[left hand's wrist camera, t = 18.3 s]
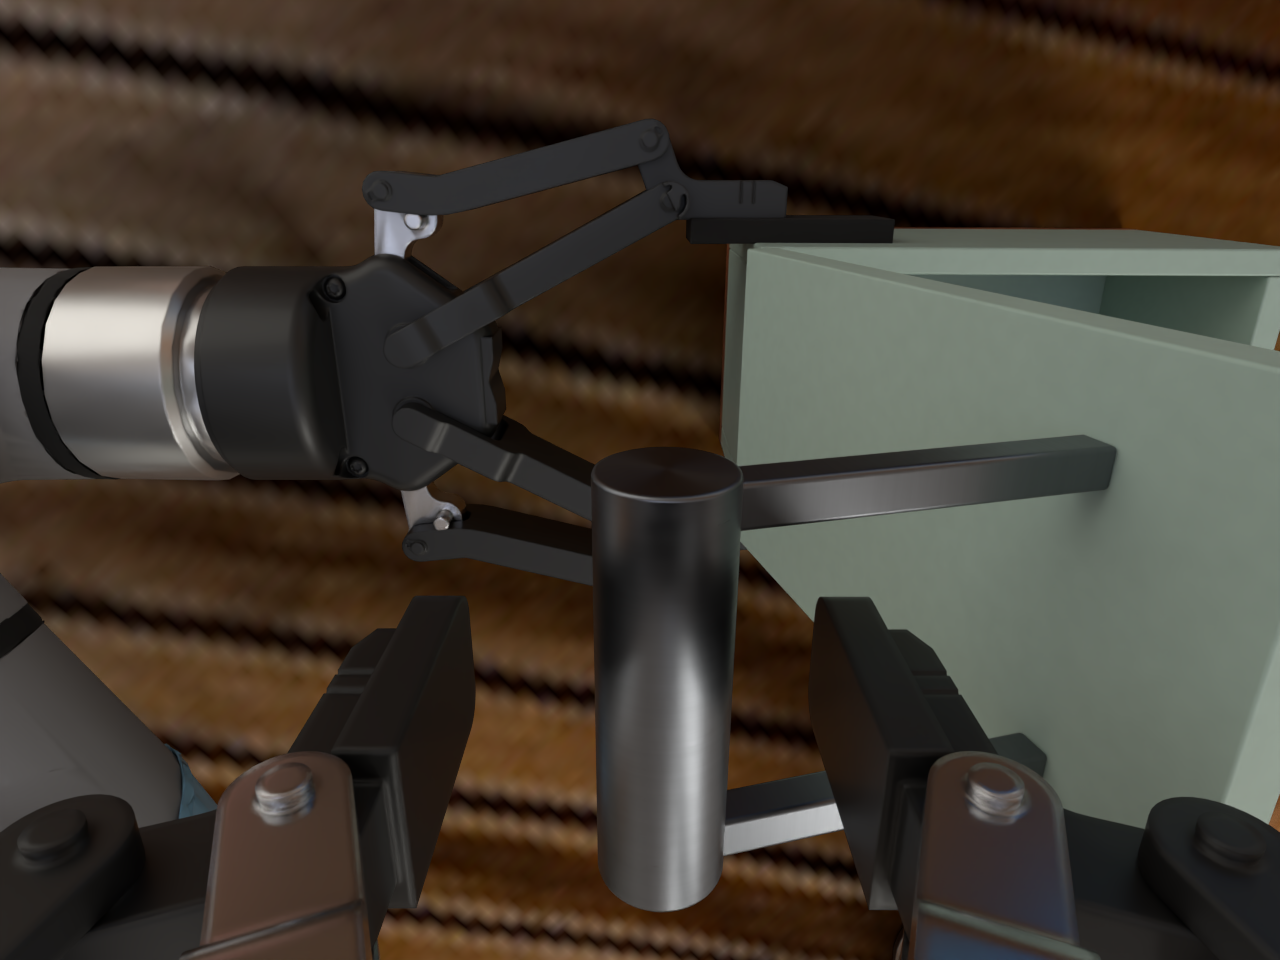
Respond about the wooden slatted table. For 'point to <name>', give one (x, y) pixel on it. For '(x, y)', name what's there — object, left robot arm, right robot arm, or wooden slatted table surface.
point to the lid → (949, 556)
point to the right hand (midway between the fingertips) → (866, 375)
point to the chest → (1052, 281)
